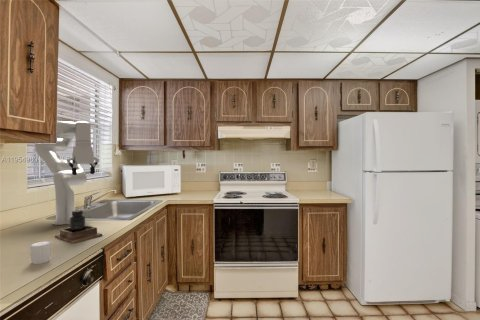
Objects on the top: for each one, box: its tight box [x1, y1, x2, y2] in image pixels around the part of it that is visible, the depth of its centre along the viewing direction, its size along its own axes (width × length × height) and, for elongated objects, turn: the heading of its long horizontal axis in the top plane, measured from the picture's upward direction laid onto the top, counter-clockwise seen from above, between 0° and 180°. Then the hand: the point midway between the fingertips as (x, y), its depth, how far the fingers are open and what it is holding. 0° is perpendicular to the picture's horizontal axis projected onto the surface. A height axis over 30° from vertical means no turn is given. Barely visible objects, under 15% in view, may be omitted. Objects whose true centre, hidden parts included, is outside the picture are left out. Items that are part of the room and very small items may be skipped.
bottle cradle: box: [54, 224, 103, 244], centre depth 135 cm, size 18×14×4 cm
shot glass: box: [28, 240, 52, 265], centre depth 104 cm, size 7×7×7 cm
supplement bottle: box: [69, 209, 87, 233], centre depth 135 cm, size 7×7×12 cm
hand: (83, 174), depth 151 cm, fingers open, 9 cm apart
